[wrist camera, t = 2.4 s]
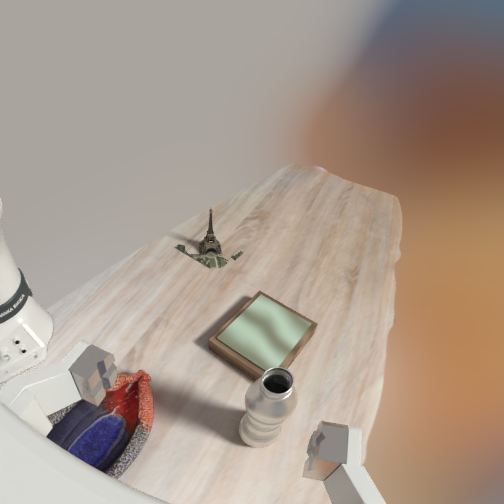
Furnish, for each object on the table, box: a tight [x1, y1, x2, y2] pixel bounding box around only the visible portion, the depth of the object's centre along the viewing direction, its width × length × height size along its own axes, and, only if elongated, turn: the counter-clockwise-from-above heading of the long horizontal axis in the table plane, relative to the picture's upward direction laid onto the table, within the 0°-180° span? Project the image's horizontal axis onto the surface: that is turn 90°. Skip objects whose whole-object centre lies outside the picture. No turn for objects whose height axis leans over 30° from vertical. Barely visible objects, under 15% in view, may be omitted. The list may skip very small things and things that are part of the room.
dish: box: [46, 370, 154, 480], centre depth 38 cm, size 16×31×5 cm, turn 147°
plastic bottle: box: [238, 367, 297, 448], centre depth 39 cm, size 6×7×20 cm
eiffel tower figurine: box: [175, 209, 243, 268], centre depth 75 cm, size 15×10×13 cm
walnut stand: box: [209, 291, 318, 380], centre depth 59 cm, size 16×14×3 cm
